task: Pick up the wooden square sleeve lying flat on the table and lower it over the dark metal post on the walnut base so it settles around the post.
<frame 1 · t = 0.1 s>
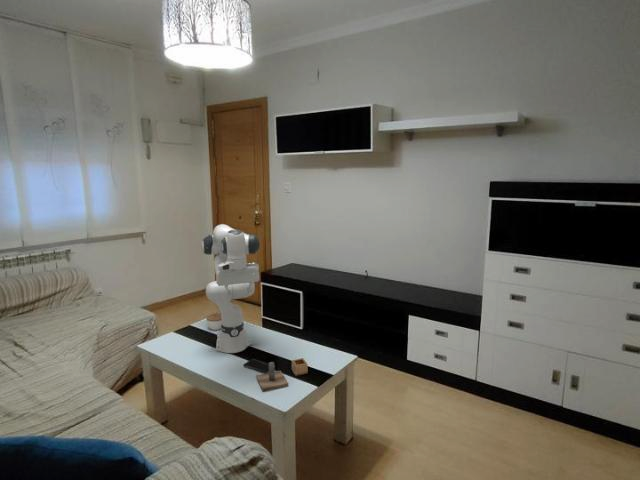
hand: (239, 292, 188), 39 cm above the table, tool pointing down, fingers open, 8 cm apart
wooden square sleeve: (299, 371, 191), on the table
lidded jar: (216, 328, 242), on the table
phone: (259, 367, 196), on the table
post stand: (272, 382, 182), on the table
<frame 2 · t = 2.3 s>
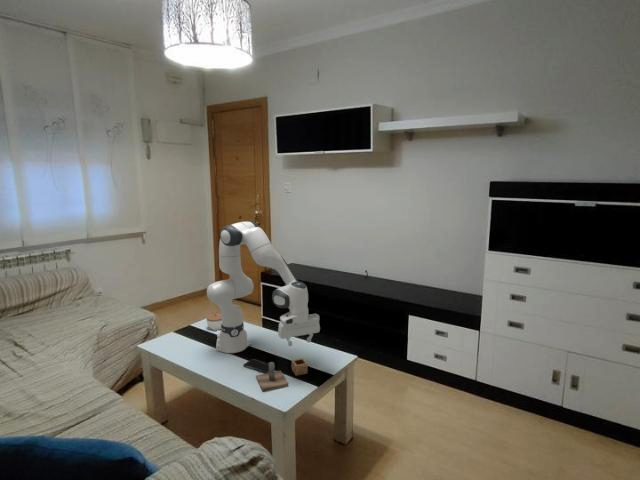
hand: (299, 343, 188), 15 cm above the table, tool pointing down, fingers open, 8 cm apart
nothing on the table moved.
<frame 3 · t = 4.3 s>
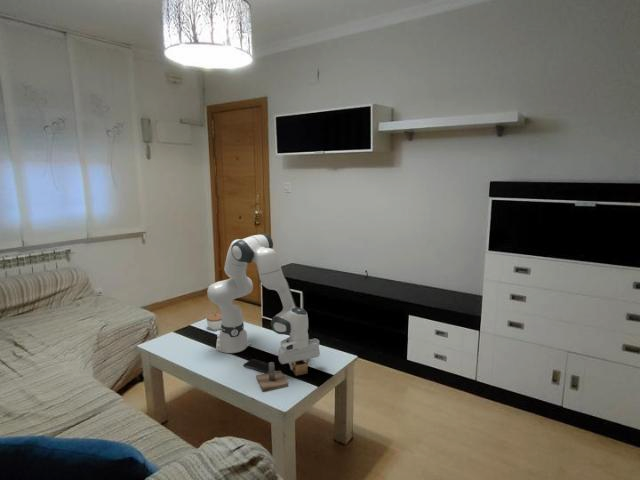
hand: (299, 367, 191), 2 cm above the table, tool pointing down, fingers closed on wooden square sleeve, 6 cm apart
wooden square sleeve: (299, 371, 191), on the table, touching gripper
everything else where it was.
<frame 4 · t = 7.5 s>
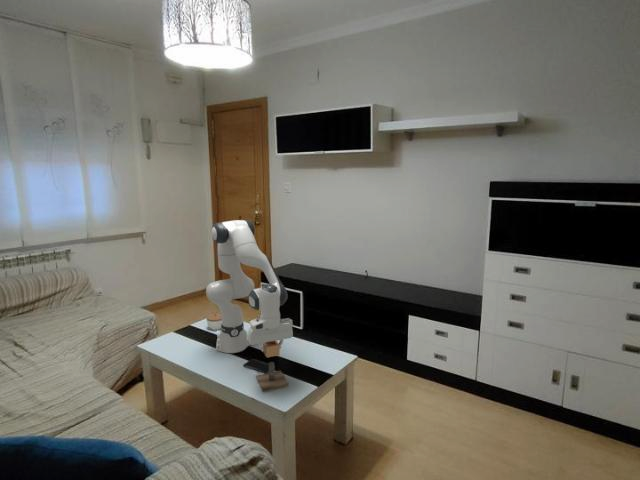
hand: (271, 349, 179), 16 cm above the table, tool pointing down, fingers closed on wooden square sleeve, 6 cm apart
wooden square sleeve: (271, 353, 179), point 14 cm above the table, touching gripper
everything else where it was.
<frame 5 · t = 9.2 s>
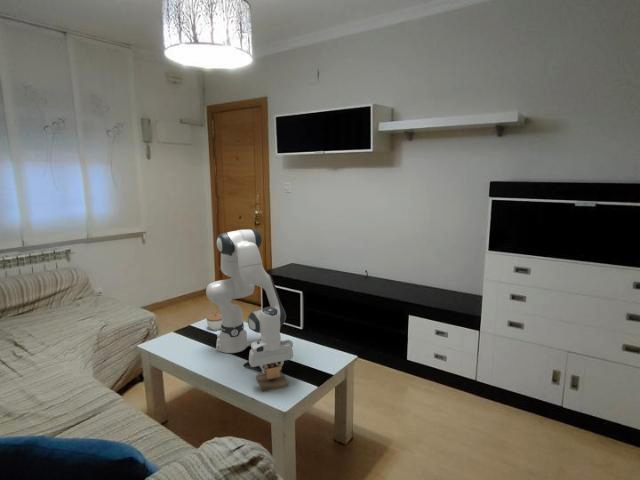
hand: (271, 371, 181), 6 cm above the table, tool pointing down, fingers closed on wooden square sleeve, 6 cm apart
wooden square sleeve: (271, 374, 181), point 4 cm above the table, touching gripper
everything else where it was.
when the fingers open (5 cm above the table, at t = 10.7 s): wooden square sleeve drops 1 cm, resting on post stand.
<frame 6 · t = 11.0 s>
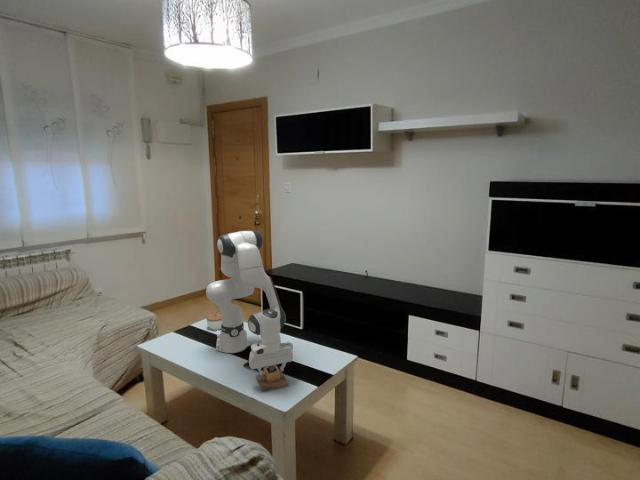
hand: (271, 373, 181), 5 cm above the table, tool pointing down, fingers open, 8 cm apart
wooden square sleeve: (271, 379, 182), point 1 cm above the table, touching post stand
everything else where it was.
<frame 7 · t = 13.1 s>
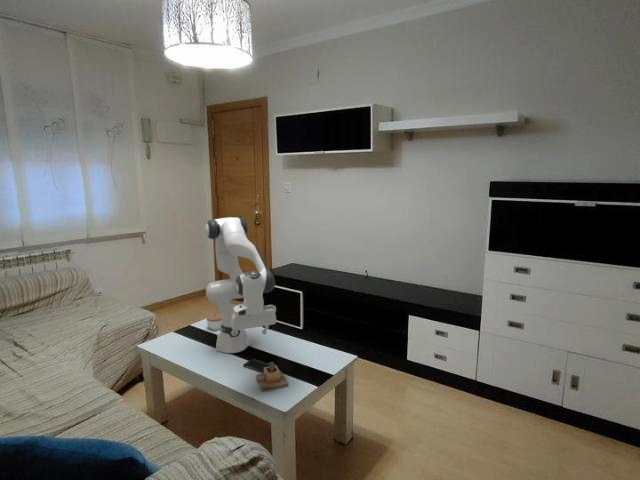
hand: (254, 335, 179), 22 cm above the table, tool pointing down, fingers open, 8 cm apart
nothing on the table moved.
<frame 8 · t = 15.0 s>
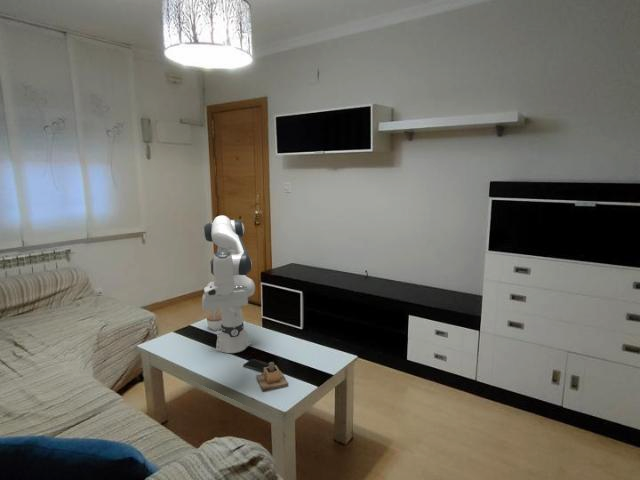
hand: (225, 317, 178), 31 cm above the table, tool pointing down, fingers open, 8 cm apart
nothing on the table moved.
at the end: wooden square sleeve 0.0 cm off-centre on the post stand, point 1.5 cm above the post stand's base; wooden square sleeve tilted 0°; the gripper is holding nothing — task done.
